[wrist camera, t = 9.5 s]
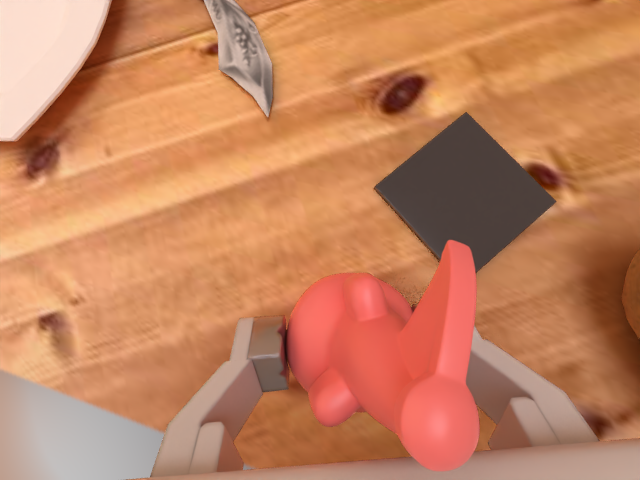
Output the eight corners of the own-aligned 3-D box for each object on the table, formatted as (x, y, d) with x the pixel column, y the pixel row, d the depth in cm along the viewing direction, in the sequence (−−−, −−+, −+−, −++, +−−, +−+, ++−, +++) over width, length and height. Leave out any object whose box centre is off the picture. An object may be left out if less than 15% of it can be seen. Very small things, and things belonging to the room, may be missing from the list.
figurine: (314, 266, 19) (320, 169, 5) (393, 293, 19) (662, 280, 4) (286, 348, 18) (180, 553, 4) (369, 377, 18) (605, 715, 4)
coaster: (460, 284, 19) (463, 284, 19) (373, 188, 20) (374, 186, 20) (552, 203, 20) (557, 201, 19) (463, 115, 21) (466, 111, 21)
